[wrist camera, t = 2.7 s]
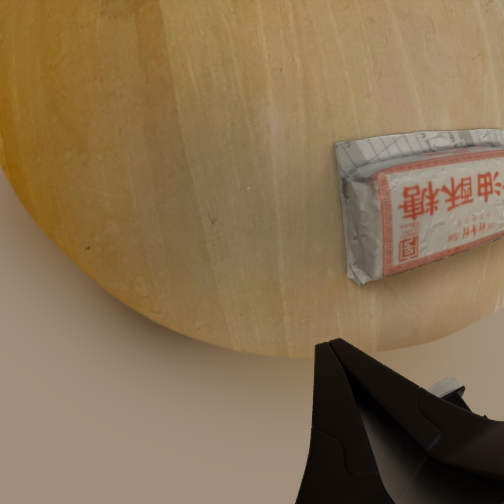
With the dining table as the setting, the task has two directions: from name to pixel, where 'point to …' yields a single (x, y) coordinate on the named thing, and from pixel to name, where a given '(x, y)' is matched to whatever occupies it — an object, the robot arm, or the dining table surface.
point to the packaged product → (418, 198)
